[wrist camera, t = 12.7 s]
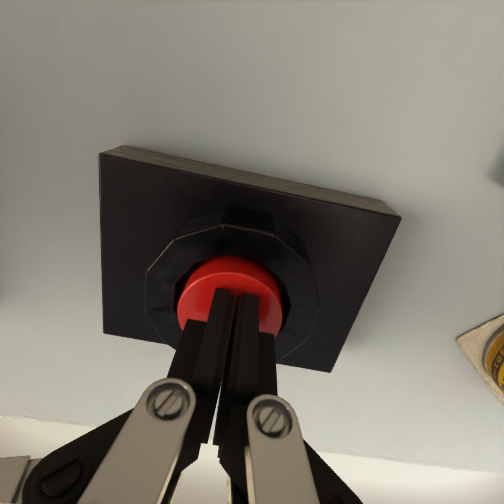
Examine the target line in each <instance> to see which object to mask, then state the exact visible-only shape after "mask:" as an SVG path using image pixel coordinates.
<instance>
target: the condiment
mask: <svg viewBox="0 0 504 504" xmlns="http://www.w3.org/2000/svg"><path fill="white" fill-rule="evenodd" d="M456 342H457V344H458V345H459V346H460V348H461V349H462V350H463V352H464V353H465V355H466V356H467V357H468V359H469V360H470V361H471V363H472V364H473V365H474V367H475V368H476V370H477V371H478V372H479V374H480V375H481V376H482V378H483V379H484V380H485V382H486V383H487V385H488V386H489V387H490V389H491V390H492V391H493V393H494V394H495V395H496V397H497V398H498V399H499V401H500V402H501V403H502V405H503V406H504V315H503V316H500V317H499V318H497V319H495V320H492V321H490V322H488V323H486V324H484V325H482V326H481V327H480V328H477V329H474V330H472V331H470V332H468V333H466V334H465V335H463V336H461V337H460V338H459V339H458V340H456Z"/></svg>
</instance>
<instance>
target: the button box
mask: <svg viewBox="0 0 504 504" xmlns="http://www.w3.org/2000/svg"><path fill="white" fill-rule="evenodd" d="M98 156H99V193H100V230H101V267H102V305H103V333H104V334H110V335H115V336H121V337H127V338H133V339H138V340H144V341H150V342H156V343H161V344H167V345H169V346H171V347H172V348H174V349H175V350H176V349H177V346H178V343H179V341H180V338H181V335H182V332H183V330H182V328H181V326H180V323H179V320H178V314H177V307H178V302H179V299H180V297H181V294H182V292H183V290H184V287H185V285H186V282H187V280H188V277H189V275H190V273H191V271H192V270H193V268H194V267H195V266H196V265H197V264H198V263H199V262H201V261H205V260H208V259H212V258H215V257H219V256H222V255H229V256H234V257H239V258H245V259H250V260H255V261H258V262H260V263H261V264H262V265H263V266H265V267H266V268H267V269H268V270H270V271H271V272H272V273H273V274H275V275H276V277H277V279H278V281H279V285H280V294H281V304H282V315H283V316H282V324H281V327H280V330H279V332H278V334H277V335H276V337H275V354H276V364H282V365H288V366H294V367H299V368H305V369H311V370H317V371H322V372H328V373H331V371H332V369H333V367H334V365H335V362H336V360H337V358H338V356H339V354H340V352H341V349H342V347H343V345H344V343H345V341H346V339H347V336H348V334H349V332H350V330H351V328H352V326H353V323H354V321H355V319H356V317H357V315H358V313H359V310H360V308H361V306H362V304H363V302H364V300H365V297H366V295H367V293H368V291H369V289H370V287H371V284H372V282H373V280H374V278H375V276H376V273H377V271H378V269H379V267H380V265H381V263H382V260H383V258H384V256H385V254H386V252H387V250H388V247H389V245H390V243H391V241H392V239H393V237H394V234H395V232H396V230H397V228H398V226H399V224H400V221H401V219H402V217H401V216H400V215H398V214H397V213H396V212H395V211H394V210H393V209H391V208H390V207H389V206H388V205H387V204H386V203H384V202H383V201H380V200H376V199H371V198H367V197H362V196H357V195H353V194H348V193H343V192H339V191H334V190H329V189H325V188H320V187H315V186H311V185H306V184H301V183H297V182H292V181H287V180H283V179H278V178H273V177H269V176H264V175H259V174H255V173H250V172H245V171H241V170H236V169H231V168H227V167H222V166H217V165H213V164H208V163H203V162H199V161H194V160H189V159H185V158H180V157H175V156H171V155H166V154H161V153H157V152H152V151H147V150H143V149H138V148H133V147H129V146H124V145H123V146H119V147H116V148H113V149H110V150H107V151H104V152H101V153H99V155H98Z"/></svg>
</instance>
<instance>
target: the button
mask: <svg viewBox="0 0 504 504" xmlns="http://www.w3.org/2000/svg"><path fill="white" fill-rule="evenodd" d="M216 287H217V288H222V289H227V290H230V291H229V294H233V295H234V302H233V309H232V316H231V323H230V329H229V336H228V341H229V337H230V333H231V328H232V324H233V319H234V315H235V310H236V306H237V301H238V297H239V296H244V295H245V293H248V294H254V295H259V331H260V332H266V333H271V334H274V337H276V335H277V334H278V332H279V330H280V327H281V324H282V316H283V315H282V304H281V294H280V285H279V281H278V279H277V277H276V275H275V274H273V273H272V272H271V271H270V270H268V269H267V268H266V267H265V266H263V265H262V264H261V263H260V262H258V261H255V260H250V259H245V258H239V257H234V256H229V255H222V256H219V257H215V258H212V259H208V260H205V261H201V262H199V263H198V264H197V265H196V266H195V267H194V268H193V270H192V271H191V273H190V275H189V277H188V280H187V282H186V285H185V287H184V290H183V292H182V294H181V297H180V299H179V302H178V307H177V314H178V320H179V323H180V326H181V328H182V330H183V329H184V326H185V323H186V321H187V319H188V318H189V319H194V320H200V321H205V322H207V319H208V315H209V311H210V307H211V303H212V299H213V295H214V291H215V288H216ZM227 346H228V343H227ZM226 351H227V350H226Z"/></svg>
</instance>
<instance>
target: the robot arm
mask: <svg viewBox="0 0 504 504" xmlns="http://www.w3.org/2000/svg"><path fill="white" fill-rule="evenodd" d="M229 291H230V290H227V289H222V288H217V287H216V288H215V291H214V295H213V299H212V303H211V307H210V311H209V315H208V319H207V322H205V321H200V320H194V319H189V318H188V319H187V321H186V323H185V326H184V329H183V332H182V335H181V338H180V341H179V343H178V346H177V349H176V352H175V355H174V358H173V361H172V364H171V366H170V369H169V372H168V375H167V378H164V379H161V380H158V381H155V382H154V383H153V384H151V385H150V386H149V387H148V388H147V389H146V390H145V391H144V393H143V394H142V396H141V398H140V399H139V401H138V403H137V404H136V406H135V408H133V409H131V410H129V411H127V412H125V413H123V414H122V415H120V416H118V417H116V418H114V419H112V420H110V421H109V422H107V423H105V424H103V425H101V426H99V427H97V428H96V429H94V430H92V431H90V432H88V433H87V434H85V435H83V436H81V437H79V438H77V439H75V440H73V441H71V442H70V443H68V444H66V445H64V446H62V447H60V448H58V449H57V450H55V451H53V452H51V453H50V454H49V455H47V456H46V457H44V458H41V459H31V458H30V455H29V456H18V457H6V458H0V504H172V502H173V500H174V497H175V494H176V491H177V489H178V486H179V483H180V480H181V477H182V475H183V470H184V469H185V468H186V467H188V466H189V465H190V464H192V463H193V462H194V461H196V460H197V459H198V455H199V450H200V446H201V443H205V444H207V443H208V439H209V434H210V430H211V426H212V421H213V417H214V412H215V408H216V404H217V399H218V395H219V391H220V397H219V404H218V411H217V418H216V424H215V431H214V438H213V445H217V446H219V449H218V458H220V461H219V462H220V464H221V465H222V467H223V468H224V470H225V471H226V472H227V474H228V476H227V498H228V504H363V503H362V502H361V500H360V499H359V498H358V497H357V496H356V494H355V493H354V492H353V491H352V490H351V489H350V488H349V487H348V486H347V485H346V484H345V483H344V482H343V481H342V480H341V479H340V477H339V476H337V474H336V473H335V472H334V471H333V470H332V469H331V468H330V467H329V466H328V465H327V464H326V463H325V462H324V461H323V459H321V458H320V456H319V455H318V454H317V453H316V452H315V451H314V450H313V449H312V448H311V447H310V446H309V445H308V443H307V442H306V441H305V440H304V439H303V438H302V434H301V430H300V426H299V422H298V418H297V416H296V413H295V411H294V409H293V408H292V407H291V405H290V404H289V403H288V402H287V401H285V400H284V399H283V398H280V397H278V394H277V374H276V354H275V337H274V334H271V333H266V332H260V331H259V295H254V294H248V293H245V295H244V296H239V297H238V301H237V306H236V310H235V315H234V319H233V324H232V328H231V333H230V337H229V341H228V336H229V329H230V323H231V316H232V309H233V302H234V295H233V294H229ZM227 343H228V346H227ZM226 350H227V351H226ZM222 376H223V377H222ZM221 382H222V383H221ZM220 386H221V390H220Z"/></svg>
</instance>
